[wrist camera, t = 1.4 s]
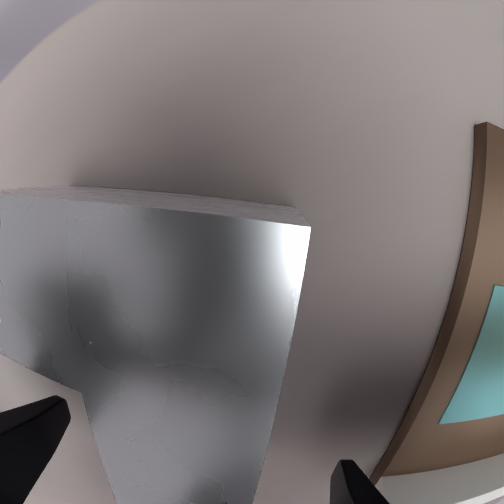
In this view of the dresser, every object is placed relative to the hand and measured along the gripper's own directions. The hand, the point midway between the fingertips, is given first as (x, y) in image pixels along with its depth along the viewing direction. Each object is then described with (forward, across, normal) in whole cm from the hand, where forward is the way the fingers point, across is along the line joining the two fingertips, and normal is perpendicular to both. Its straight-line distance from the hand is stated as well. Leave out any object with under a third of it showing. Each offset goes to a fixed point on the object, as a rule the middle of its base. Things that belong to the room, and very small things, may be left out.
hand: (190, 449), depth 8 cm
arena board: (+3, -16, -3) cm, 17 cm away
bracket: (+3, +2, -2) cm, 4 cm away
